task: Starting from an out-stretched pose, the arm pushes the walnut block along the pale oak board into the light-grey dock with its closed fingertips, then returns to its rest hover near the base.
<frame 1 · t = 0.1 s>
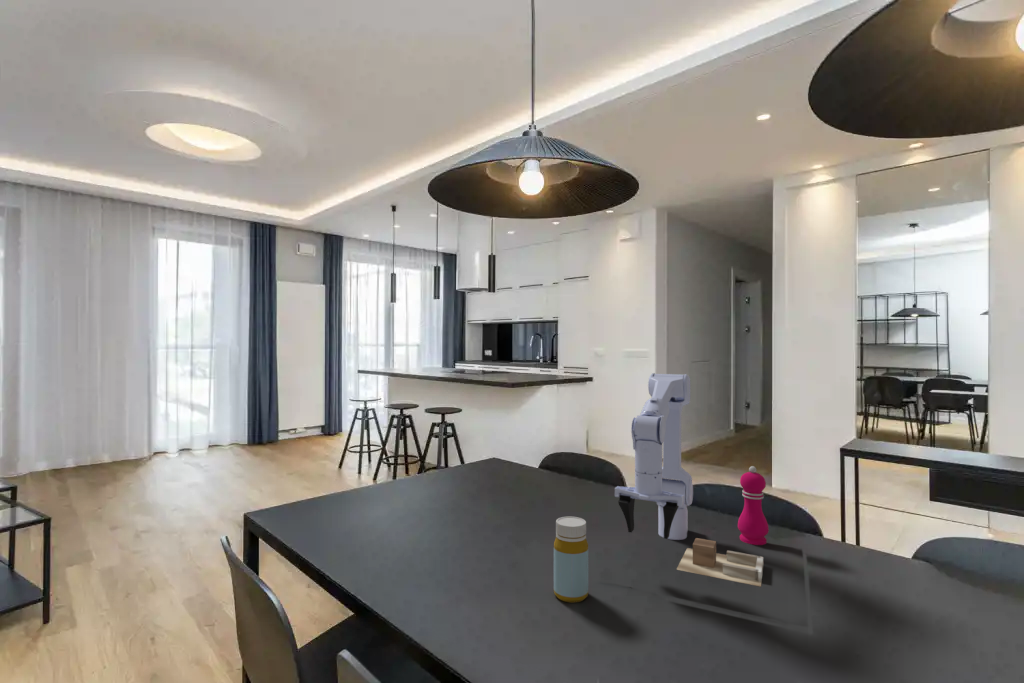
hand: (648, 534, 111), 10 cm above the table, fingers open, 7 cm apart
block: (704, 562, 118), point 1 cm above the table, touching board
board: (720, 569, 116), on the table
pepper mill: (753, 544, 131), on the table
bottle: (570, 596, 104), on the table
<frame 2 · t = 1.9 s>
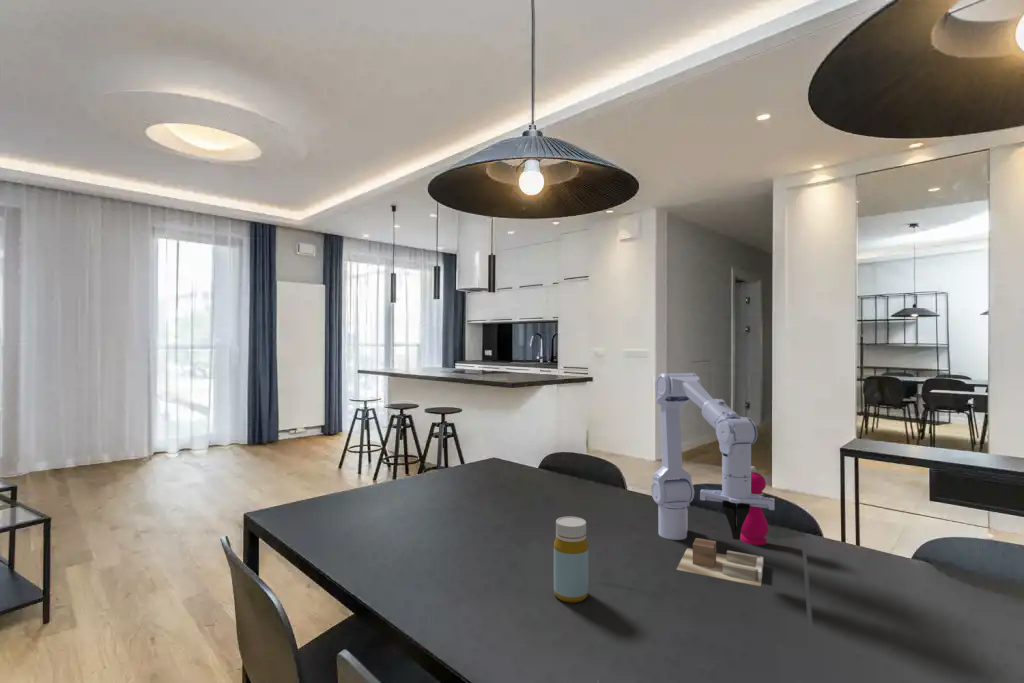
hand: (736, 537, 109), 10 cm above the table, fingers closed
nothing on the table moved.
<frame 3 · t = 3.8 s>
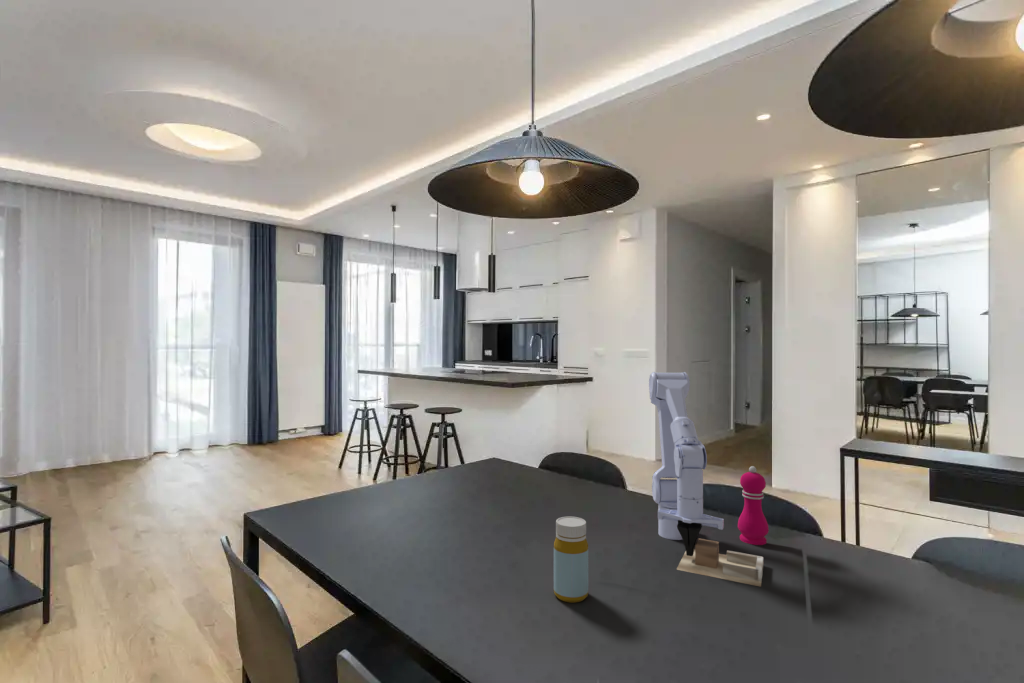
hand: (690, 554, 119), 2 cm above the table, fingers closed
block: (707, 562, 117), point 1 cm above the table, touching board, gripper
everything else where it was.
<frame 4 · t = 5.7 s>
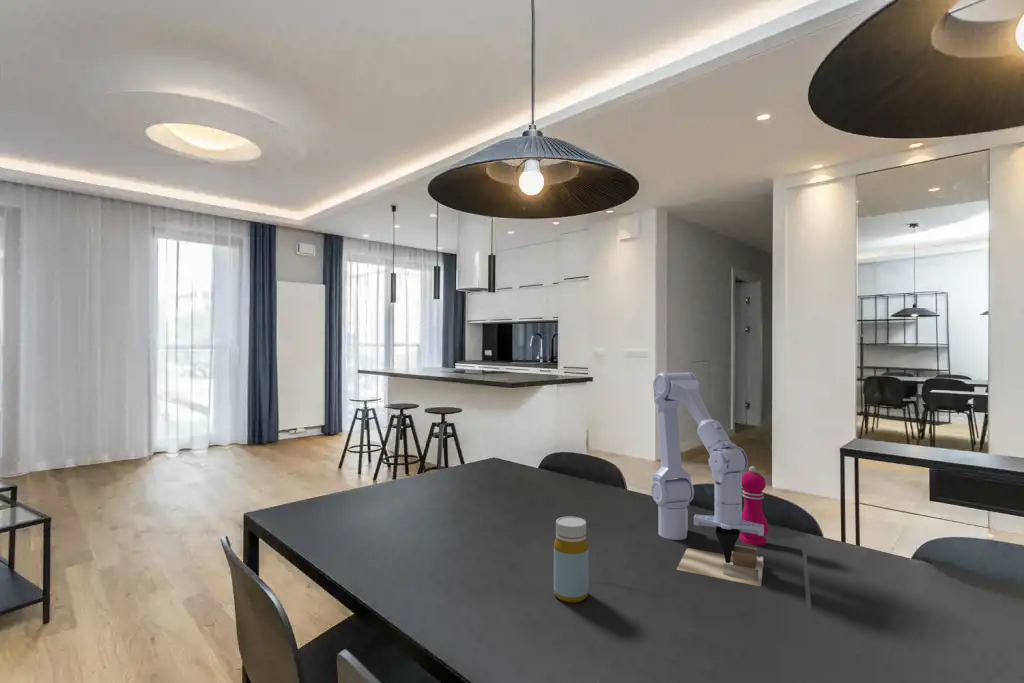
hand: (728, 561, 115), 2 cm above the table, fingers closed
block: (745, 570, 114), point 1 cm above the table, touching board, gripper
everything else where it was.
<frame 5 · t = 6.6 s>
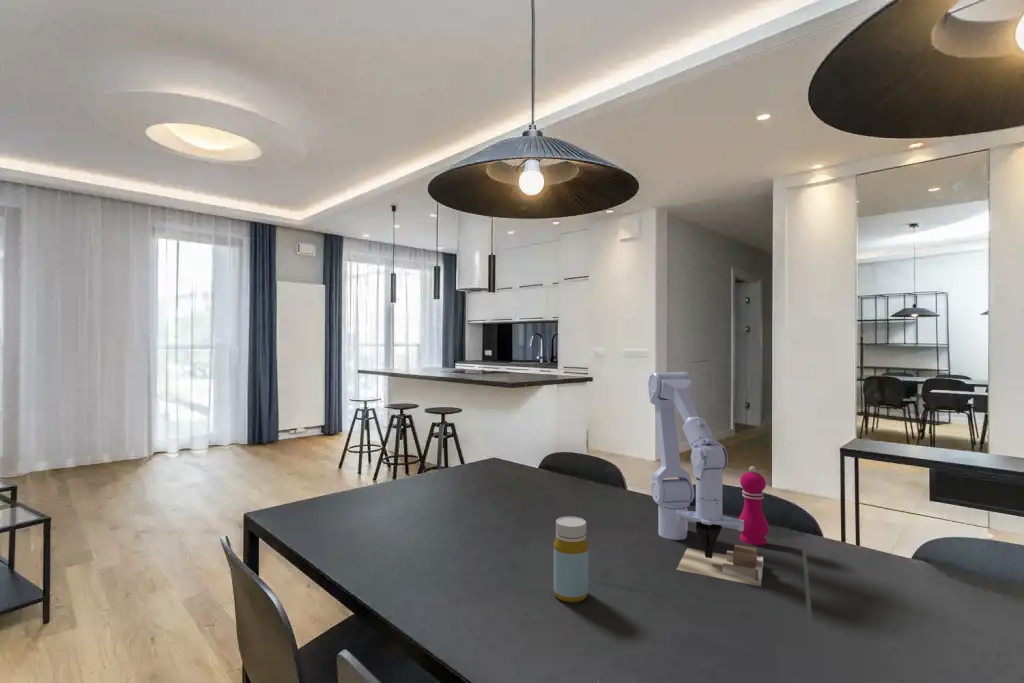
hand: (709, 556, 117), 3 cm above the table, fingers closed
block: (745, 570, 114), point 1 cm above the table, touching board
everything else where it was.
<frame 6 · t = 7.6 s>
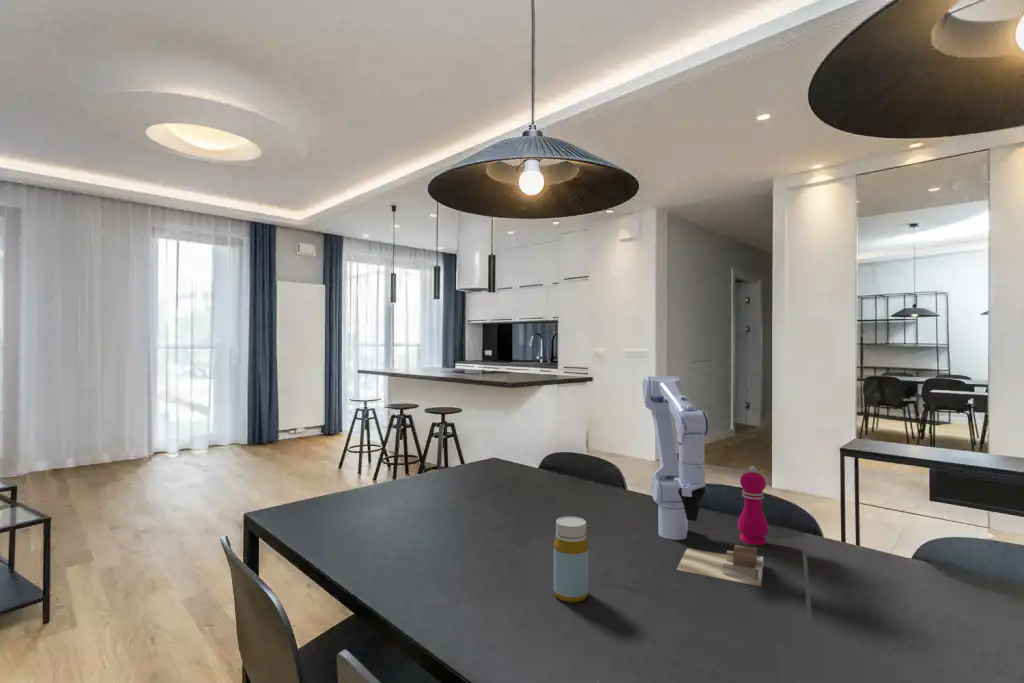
hand: (691, 519, 121), 10 cm above the table, fingers closed
nothing on the table moved.
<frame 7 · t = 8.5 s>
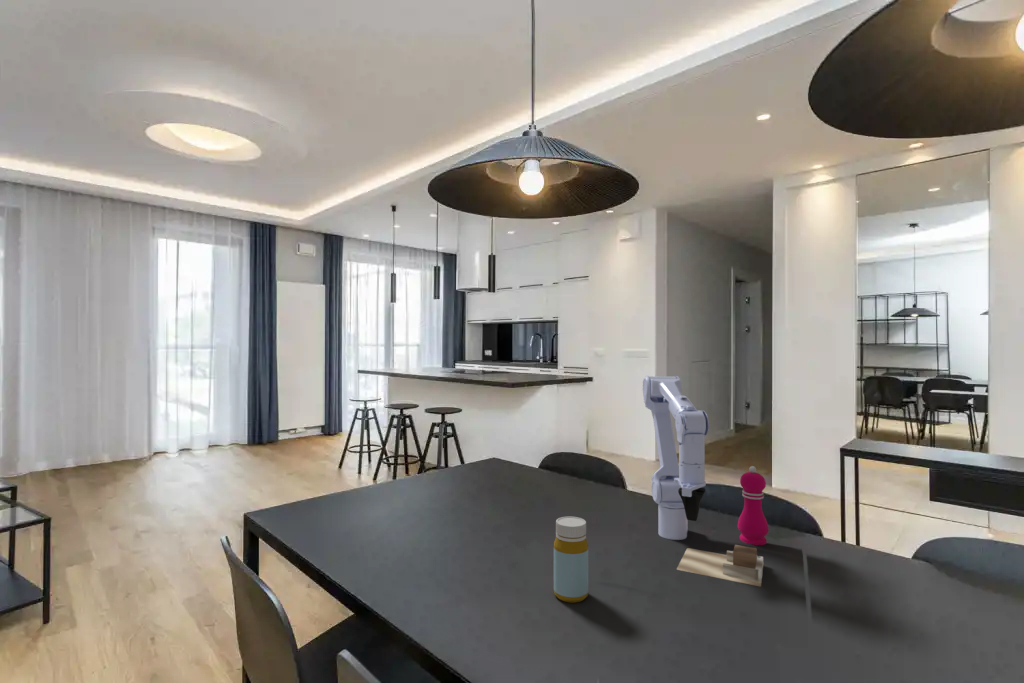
hand: (691, 519, 121), 10 cm above the table, fingers closed
nothing on the table moved.
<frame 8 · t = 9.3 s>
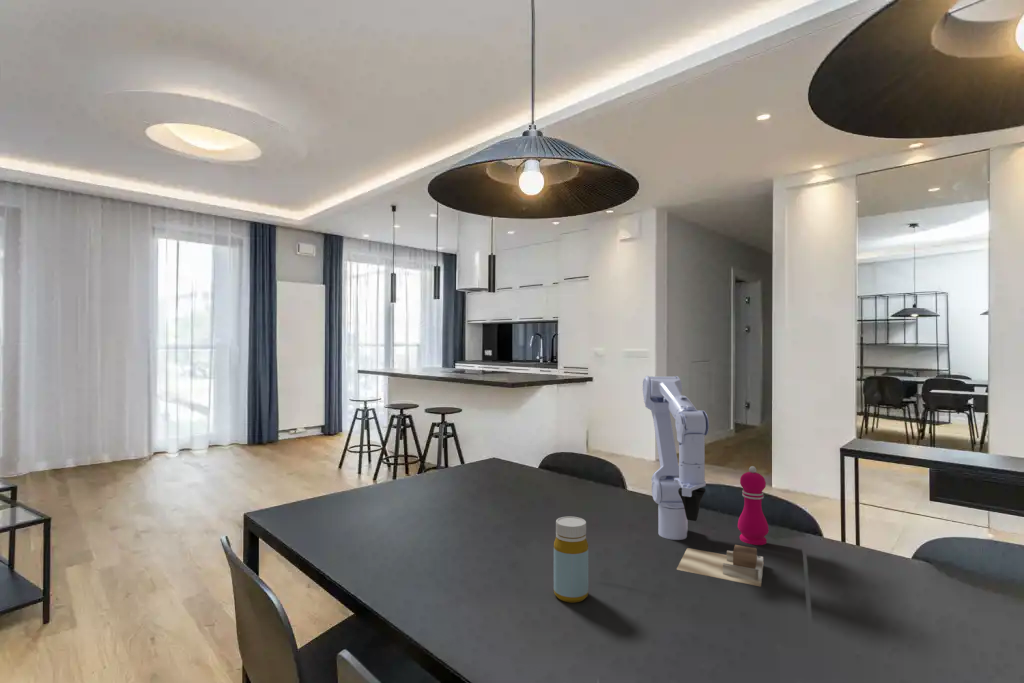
hand: (691, 519, 121), 10 cm above the table, fingers closed
nothing on the table moved.
at the end: block 0.1 cm from the target spot on the board, point 1.0 cm above the board's base; block tilted 0°; block touching board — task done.
